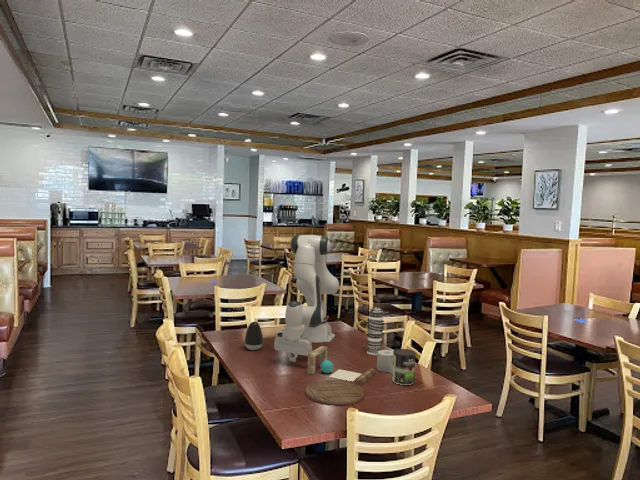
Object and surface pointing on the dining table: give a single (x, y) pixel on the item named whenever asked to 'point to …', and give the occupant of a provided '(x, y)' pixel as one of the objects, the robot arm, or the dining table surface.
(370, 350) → the leaning tower model
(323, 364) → the ball
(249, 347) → the speaker
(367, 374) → the stopper wall
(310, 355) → the bridge
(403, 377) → the coffee can
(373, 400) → the dining table surface
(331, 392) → the trivet
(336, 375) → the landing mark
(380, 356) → the toilet tissue
